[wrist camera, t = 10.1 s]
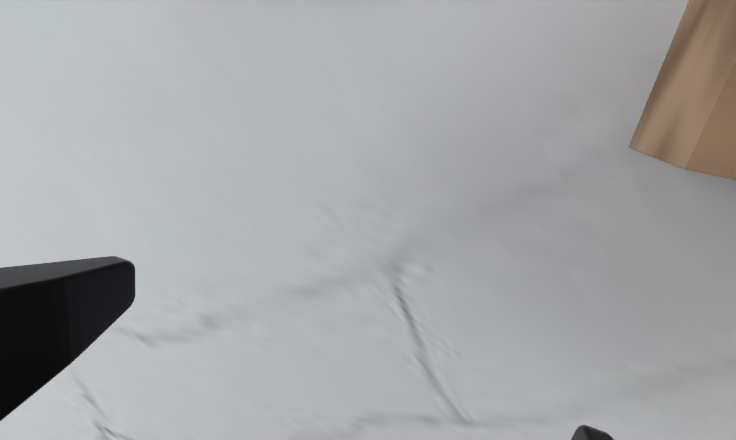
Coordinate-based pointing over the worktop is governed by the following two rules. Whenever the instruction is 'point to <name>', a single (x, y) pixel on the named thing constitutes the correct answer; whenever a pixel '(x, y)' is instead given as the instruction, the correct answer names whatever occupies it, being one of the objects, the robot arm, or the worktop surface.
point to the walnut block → (695, 94)
